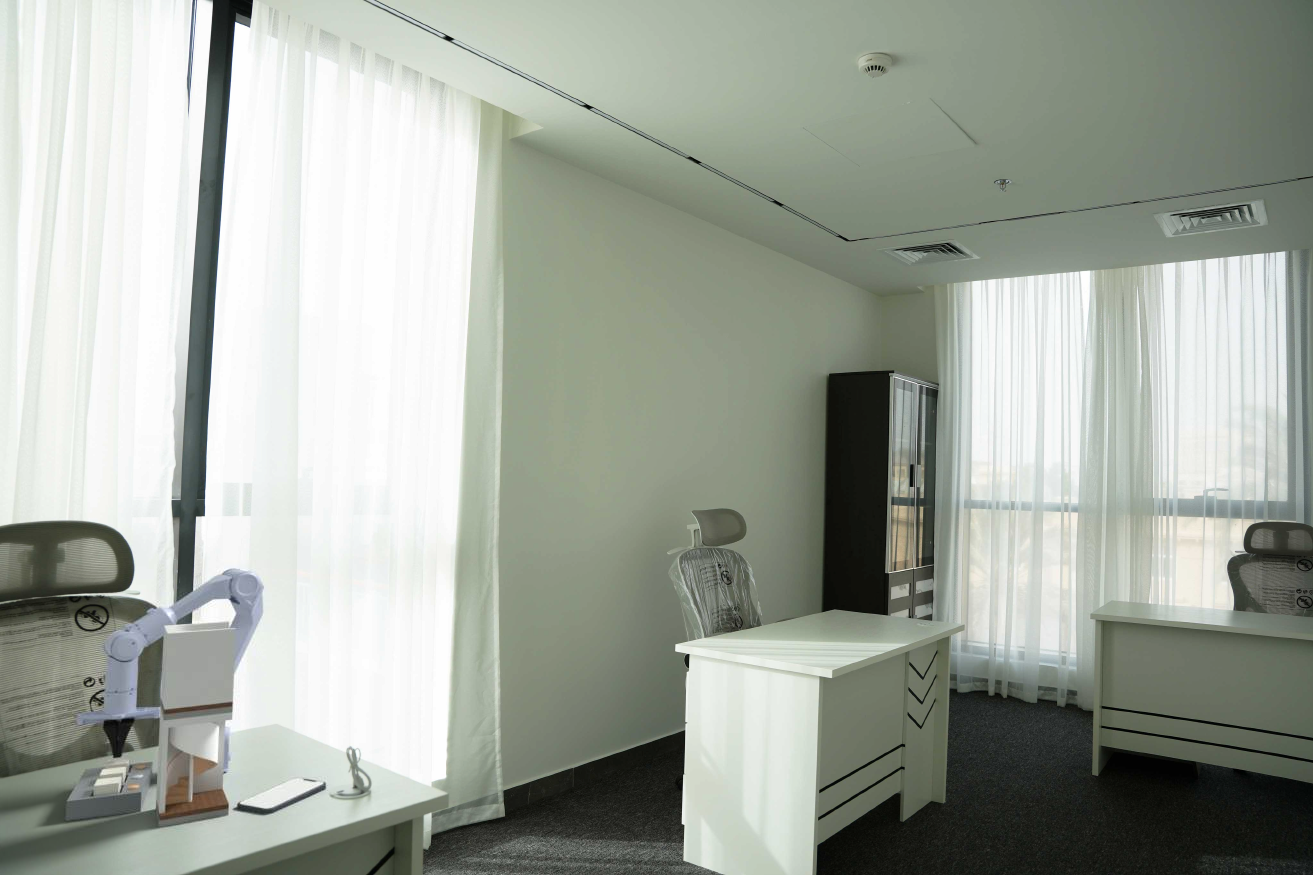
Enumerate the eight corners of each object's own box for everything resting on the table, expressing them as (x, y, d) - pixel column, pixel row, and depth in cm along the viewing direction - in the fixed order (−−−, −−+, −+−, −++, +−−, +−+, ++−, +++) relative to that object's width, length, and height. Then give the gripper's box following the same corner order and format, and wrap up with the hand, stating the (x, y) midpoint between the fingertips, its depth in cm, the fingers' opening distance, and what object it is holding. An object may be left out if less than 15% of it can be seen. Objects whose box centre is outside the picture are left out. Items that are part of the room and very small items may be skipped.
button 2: (129, 771, 178) (130, 757, 179) (127, 777, 175) (127, 762, 175) (107, 774, 177) (107, 759, 177) (104, 780, 173) (104, 765, 173)
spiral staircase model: (159, 827, 156) (167, 633, 158) (155, 808, 165) (164, 625, 167) (228, 814, 162) (235, 628, 164) (221, 797, 171) (228, 621, 173)
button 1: (120, 791, 167) (121, 776, 167) (117, 798, 163) (118, 782, 163) (96, 794, 165) (97, 779, 165) (93, 801, 161) (93, 785, 162)
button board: (151, 778, 181) (152, 760, 182) (140, 811, 163) (141, 790, 163) (84, 786, 176) (85, 767, 176) (65, 820, 158) (66, 800, 158)
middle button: (125, 781, 173) (126, 766, 173) (122, 787, 169) (123, 772, 169) (102, 784, 171) (102, 769, 171) (98, 790, 167) (99, 775, 167)
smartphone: (268, 818, 162) (329, 789, 177) (268, 810, 162) (329, 781, 177) (233, 812, 165) (295, 784, 180) (233, 803, 165) (296, 776, 180)
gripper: (75, 696, 170) (71, 766, 169) (159, 690, 176) (156, 757, 175) (82, 689, 176) (78, 756, 176) (162, 683, 183) (159, 748, 182)
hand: (117, 756), depth 176 cm, fingers closed
